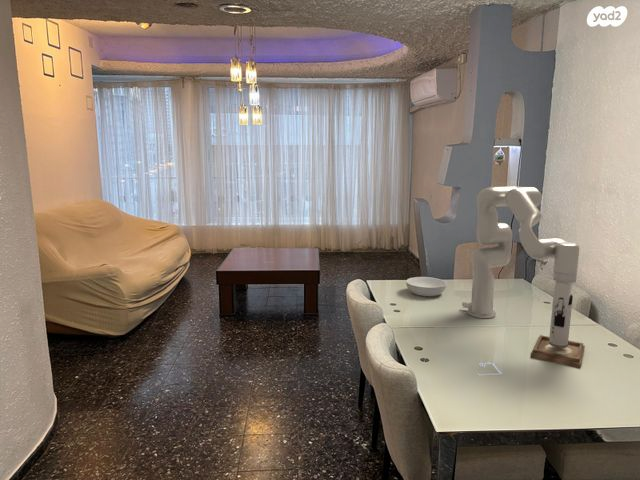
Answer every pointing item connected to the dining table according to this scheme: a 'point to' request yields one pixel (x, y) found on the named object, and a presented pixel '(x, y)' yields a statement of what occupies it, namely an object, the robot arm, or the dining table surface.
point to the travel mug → (560, 328)
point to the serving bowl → (426, 286)
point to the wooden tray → (558, 352)
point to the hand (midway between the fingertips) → (560, 322)
